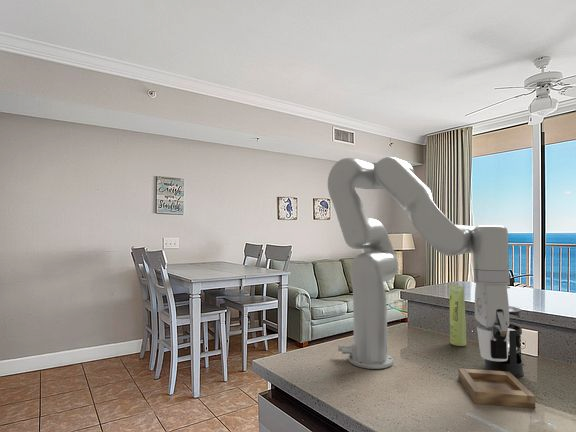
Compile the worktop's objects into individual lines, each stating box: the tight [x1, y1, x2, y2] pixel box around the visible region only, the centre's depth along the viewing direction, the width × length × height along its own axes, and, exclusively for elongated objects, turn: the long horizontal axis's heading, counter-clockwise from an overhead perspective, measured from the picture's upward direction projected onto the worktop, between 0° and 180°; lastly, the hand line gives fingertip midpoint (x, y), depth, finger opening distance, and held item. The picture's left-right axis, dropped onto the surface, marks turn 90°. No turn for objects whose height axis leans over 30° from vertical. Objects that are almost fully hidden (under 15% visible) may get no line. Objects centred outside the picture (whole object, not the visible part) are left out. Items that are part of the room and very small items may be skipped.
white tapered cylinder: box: [476, 324, 511, 361], centre depth 88 cm, size 7×7×7 cm
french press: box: [483, 285, 525, 379], centre depth 102 cm, size 12×9×23 cm
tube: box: [449, 283, 467, 347], centre depth 124 cm, size 6×5×20 cm
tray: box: [458, 368, 536, 409], centre depth 88 cm, size 12×14×2 cm
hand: (493, 352), depth 88 cm, fingers closed on white tapered cylinder, 6 cm apart
